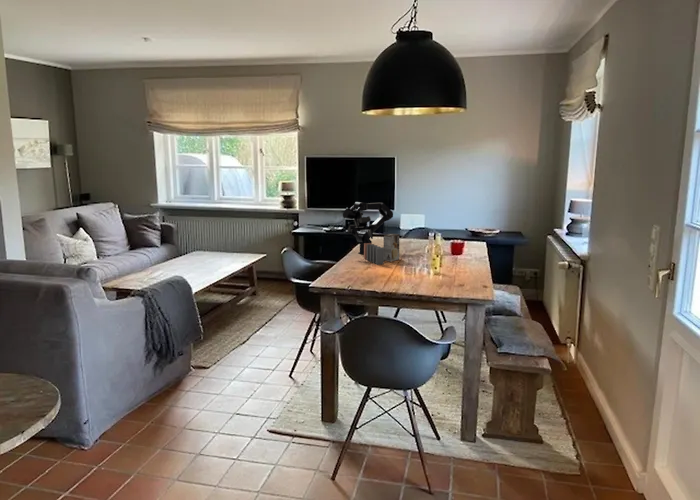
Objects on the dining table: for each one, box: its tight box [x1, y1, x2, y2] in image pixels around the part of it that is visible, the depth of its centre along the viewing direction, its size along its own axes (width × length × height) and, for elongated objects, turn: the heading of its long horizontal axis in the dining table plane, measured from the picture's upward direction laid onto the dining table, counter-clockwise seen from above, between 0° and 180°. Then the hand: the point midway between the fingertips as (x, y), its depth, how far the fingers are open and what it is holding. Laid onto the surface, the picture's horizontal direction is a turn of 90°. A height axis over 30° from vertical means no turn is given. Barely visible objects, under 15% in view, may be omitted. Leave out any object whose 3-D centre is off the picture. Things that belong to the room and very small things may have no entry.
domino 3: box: [372, 245, 381, 264], centre depth 329 cm, size 2×4×10 cm, turn 112°
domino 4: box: [375, 246, 385, 266], centre depth 325 cm, size 2×4×10 cm, turn 112°
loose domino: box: [363, 242, 373, 260], centre depth 341 cm, size 2×4×10 cm, turn 112°
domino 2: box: [369, 244, 378, 263], centre depth 333 cm, size 2×4×10 cm, turn 112°
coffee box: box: [383, 233, 400, 262], centre depth 337 cm, size 9×6×16 cm
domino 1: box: [366, 243, 375, 262], centre depth 337 cm, size 2×4×10 cm, turn 112°
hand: (365, 239), depth 344 cm, fingers open, 9 cm apart
